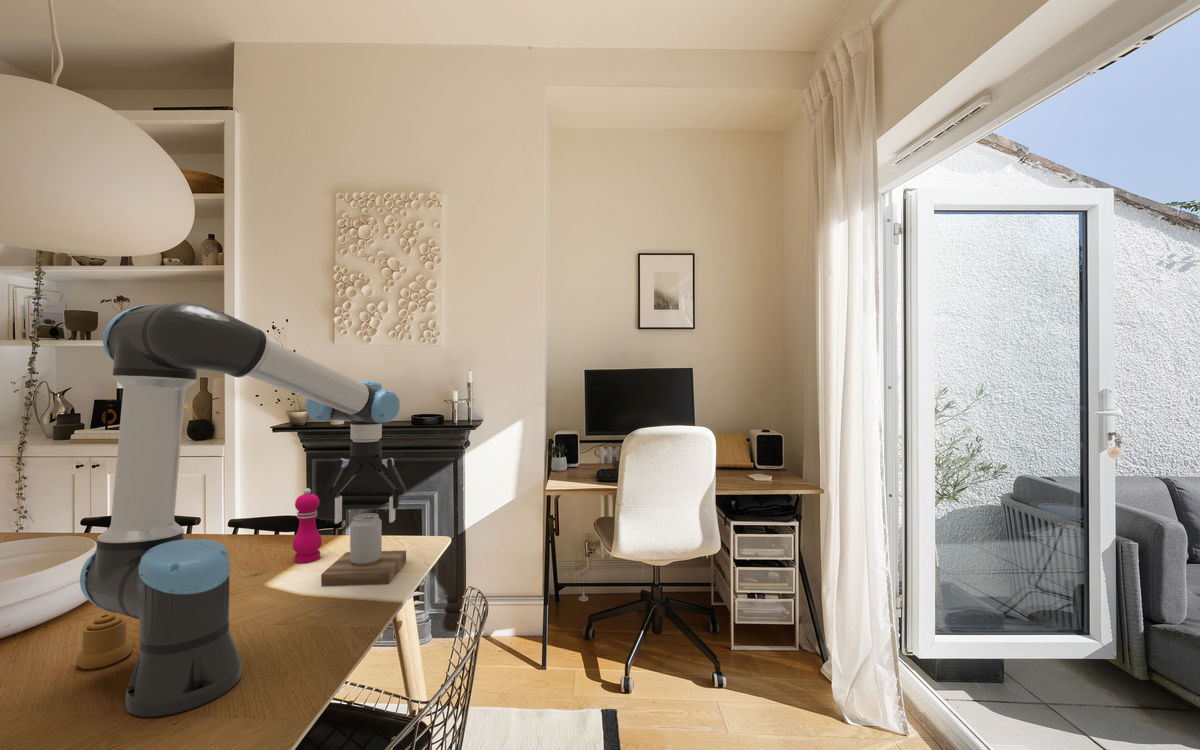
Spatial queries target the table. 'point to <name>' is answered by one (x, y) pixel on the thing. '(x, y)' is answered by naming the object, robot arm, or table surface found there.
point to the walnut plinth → (364, 570)
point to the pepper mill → (307, 529)
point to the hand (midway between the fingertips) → (365, 521)
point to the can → (365, 539)
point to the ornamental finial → (104, 642)
